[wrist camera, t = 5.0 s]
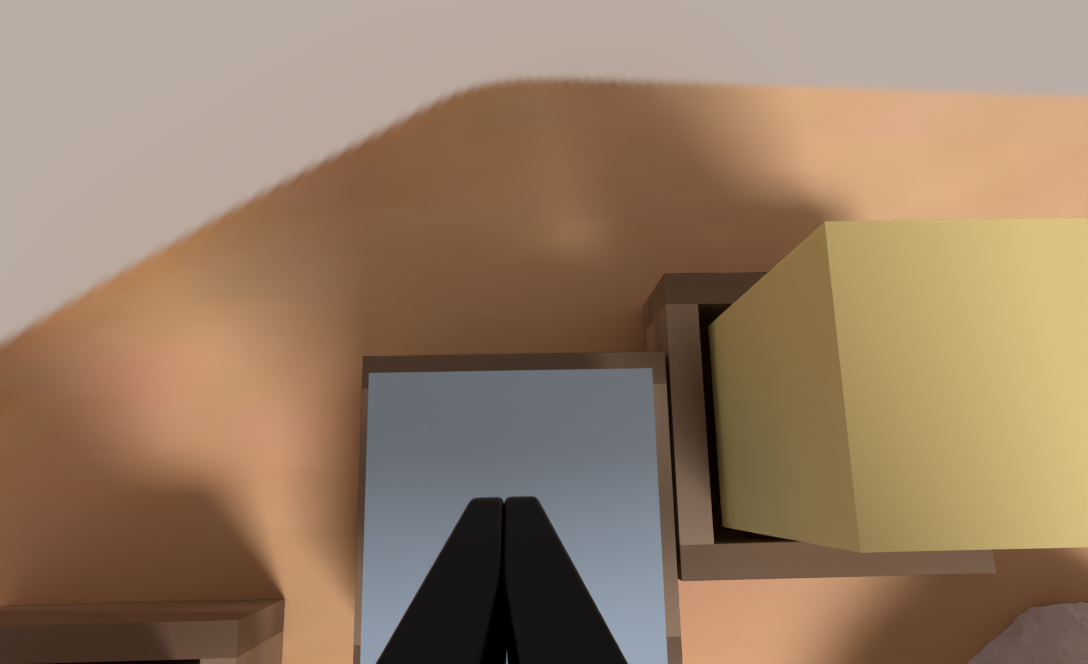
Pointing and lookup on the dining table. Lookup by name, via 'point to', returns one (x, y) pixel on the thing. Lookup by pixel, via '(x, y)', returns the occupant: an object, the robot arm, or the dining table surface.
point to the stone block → (1041, 637)
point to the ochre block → (910, 388)
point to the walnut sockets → (257, 625)
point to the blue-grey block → (517, 485)
